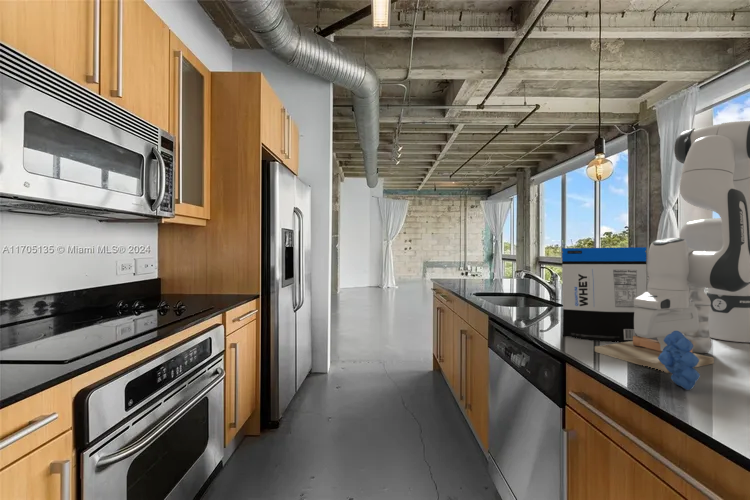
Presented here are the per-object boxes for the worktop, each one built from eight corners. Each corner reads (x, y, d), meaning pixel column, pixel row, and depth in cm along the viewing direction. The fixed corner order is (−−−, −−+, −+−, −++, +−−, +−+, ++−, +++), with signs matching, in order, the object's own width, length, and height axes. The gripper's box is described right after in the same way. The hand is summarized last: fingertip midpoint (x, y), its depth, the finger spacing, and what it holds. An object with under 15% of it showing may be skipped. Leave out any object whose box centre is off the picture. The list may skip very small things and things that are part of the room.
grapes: (646, 375, 92) (646, 325, 92) (679, 377, 91) (678, 326, 90) (670, 394, 81) (670, 337, 81) (708, 397, 79) (708, 339, 79)
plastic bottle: (717, 356, 106) (717, 283, 106) (689, 355, 108) (689, 283, 107) (702, 349, 113) (702, 281, 112) (676, 348, 114) (676, 281, 114)
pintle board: (637, 344, 119) (637, 324, 119) (713, 363, 100) (713, 339, 100) (594, 351, 113) (594, 330, 112) (667, 372, 94) (667, 347, 94)
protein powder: (651, 344, 119) (651, 247, 118) (564, 339, 127) (564, 248, 126) (641, 337, 128) (641, 247, 127) (561, 333, 136) (560, 248, 135)
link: (629, 343, 113) (629, 336, 113) (638, 342, 114) (638, 335, 114) (686, 358, 99) (686, 349, 99) (696, 356, 100) (696, 348, 100)
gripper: (680, 295, 109) (680, 344, 109) (628, 299, 102) (628, 352, 102) (706, 298, 103) (706, 350, 103) (653, 303, 96) (653, 358, 96)
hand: (667, 351), depth 102 cm, fingers closed
